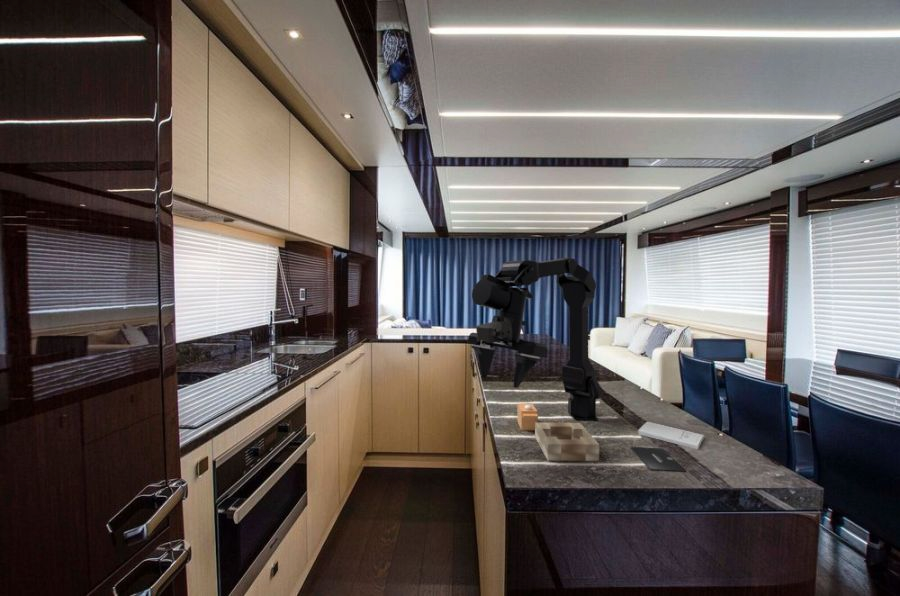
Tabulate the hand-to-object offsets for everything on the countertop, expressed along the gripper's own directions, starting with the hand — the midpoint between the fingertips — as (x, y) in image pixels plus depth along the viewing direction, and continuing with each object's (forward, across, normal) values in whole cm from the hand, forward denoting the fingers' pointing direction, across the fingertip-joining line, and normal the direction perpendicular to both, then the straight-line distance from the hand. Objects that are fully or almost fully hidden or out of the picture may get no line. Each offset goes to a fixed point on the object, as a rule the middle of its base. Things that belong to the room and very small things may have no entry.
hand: (499, 383), depth 80 cm
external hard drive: (+6, +23, +40) cm, 47 cm away
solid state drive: (+10, +25, +25) cm, 37 cm away
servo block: (+11, -4, +20) cm, 23 cm away
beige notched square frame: (+12, +9, +15) cm, 22 cm away
